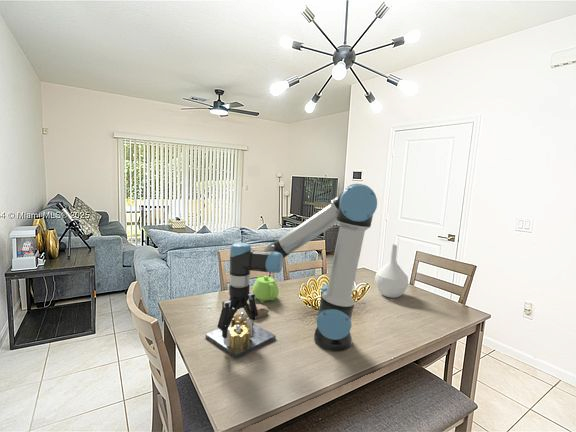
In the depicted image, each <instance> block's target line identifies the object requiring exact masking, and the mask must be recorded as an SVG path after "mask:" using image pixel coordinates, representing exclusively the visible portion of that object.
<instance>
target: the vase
mask: <svg viewBox="0 0 576 432" xmlns="http://www.w3.org/2000/svg"><path fill="white" fill-rule="evenodd" d="M397 251H398V245H397V244H392V245H391V252H390V260H389V262H387V263H386V264H385V265H383V267H381V268H380V269H379V270H378V271H377V272H376V274H375V279H374V281H375V285H376V288H377V290H378V292H379V293H380V294H381V295H382V296H384V297H387V298H390V299H392V298H393V299H396V298H400V297H401V296H402V295H403V294H404V293H405V292H406V290H407V288H408V286H409V276H408V275H407V274H406V273H405V271H404V270H403V269H402V268H401V266H400V265H399V264H398V262H397V254H398V253H397Z"/></svg>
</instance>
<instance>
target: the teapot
mask: <svg viewBox="0 0 576 432" xmlns="http://www.w3.org/2000/svg"><path fill="white" fill-rule="evenodd" d="M252 294H254V295H255V299H257V300H259V302H260V304H262V303H263V304H264V303H265V302H266V301H271V302H274V301H276V299H277V297H278V296H279V287H278V284H277V282H276V279H275V278H273V277H271V276H269V275H263V276H261V275H259V274H257V275H256V280H255V282H254V284H253V287H252Z"/></svg>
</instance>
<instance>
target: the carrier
mask: <svg viewBox="0 0 576 432" xmlns="http://www.w3.org/2000/svg"><path fill="white" fill-rule="evenodd" d="M247 318H249V317H248V315H247V313H246V312H244V311H240V312H238V313H237V314H234V316H233V319H232V321H231V323H230V325H229V327H230V328H232V327H234V325H236V333H241V326H242V325H245V327H246V326H247ZM205 338H206V340H208V341H210V342H212V344H215V345H216V346H217V347H219V348H220V349H222V350H223V351H224V352H226V353H227V354H229V356H231V357H233V358H234V359H235V360H237V359H238V358H239V359H240V358H241V357H242V356H244V355H247V354H249V353H251V352H253V351H255V350H257V349H258V348H260V347H262V346H264V345H267V344H269V343H271V342H272V341H274V340H276V338H277V337H276V334H274V333H272V332H270V331H268V330H266V329H264V328H262V327H261V326H259V325H257V324H255V323H254V325H253V326H252V336H250V343H249V346H244V347H243V349H240V348H234V349H231V346H228V347H227V346H226V345H224V338H223V337H222V330H220V329H219V328H217V329H215V330H212V331H210V332H207V333H205Z"/></svg>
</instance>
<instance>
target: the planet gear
mask: <svg viewBox="0 0 576 432" xmlns="http://www.w3.org/2000/svg"><path fill="white" fill-rule="evenodd" d="M228 329H230V346H231V349H234V348H240V349H243V347H244V346H249V343H250V328H246V327H245V325H242V326H241V333H236V325H234V327H232V328H230V327H229V328H228Z"/></svg>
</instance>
